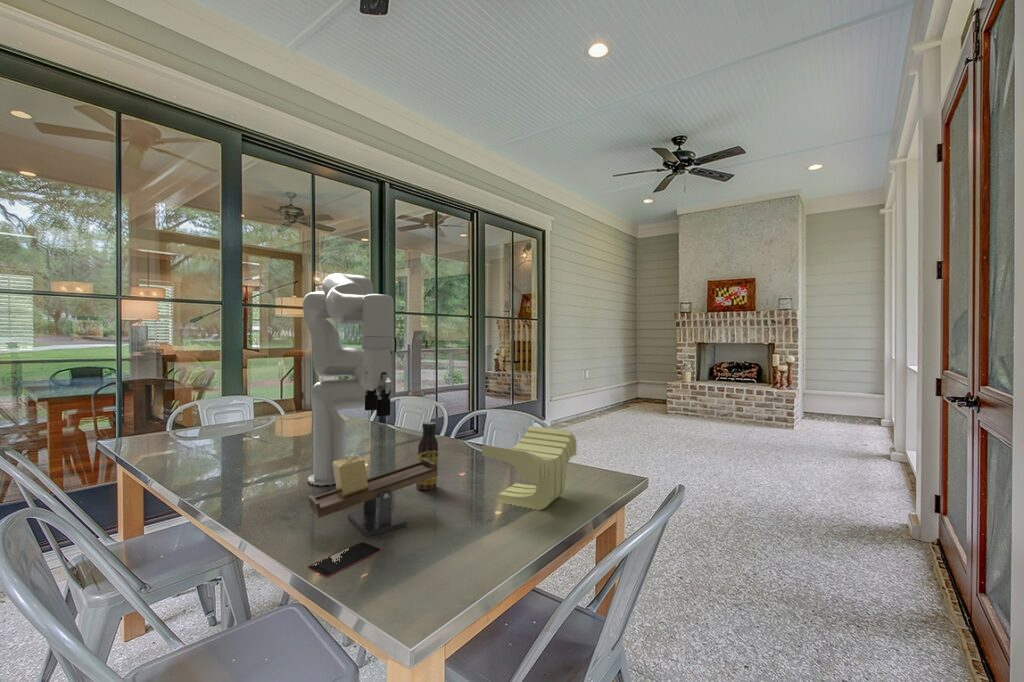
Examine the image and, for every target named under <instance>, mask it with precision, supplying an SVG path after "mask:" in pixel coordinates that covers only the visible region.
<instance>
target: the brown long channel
mask: <svg viewBox="0 0 1024 682" xmlns="http://www.w3.org/2000/svg"><path fill="white" fill-rule="evenodd" d="M438 472H439V471H438V467H436V465H435V463H433V462H431V461H429V460H427V459H425V458H423V459H422V461H420V462H414V463H411V464H409V465H406V466H403V467H399V468H397V469H393V470H390V471H387V472H385V473H382V474H378V475H376V476H373V477H369V478H367V482H368V489H369V490H367V491H365V492H362V493H359V494H356V495H353V496H350V497H347V498H344V499H342V498H341V497H340V496H339V495H338V494H337V490H336V489H333V490H330V491H327V492H324V493H320V494H318V495H315V496H314V495H313V494H311V495H308V498H307V500H308V505H309V508H310V510H311V511H312V512H313V513H314V514H315V516H316V517H317V518H318V519H321V518H323V517H327V516H329V515H332V514H334V513H338V512H340V511H343V510H346V509H348V508H351V507H354V506H357V505H359V504H363V502H365V501H368V500H371V499H374V498H376V499H377V498H378V493H379V492H384V491H389V490H390V491H392V493H393V492H395V491H399V490H401V489H404V488H407V487H409V486H412V485H414V484H417V483H418V482H421V481H424V480H426V479H429V478H432V477H435V476H437V477H438V476H439V473H438Z"/></svg>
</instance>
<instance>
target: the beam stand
mask: <svg viewBox="0 0 1024 682" xmlns="http://www.w3.org/2000/svg"><path fill="white" fill-rule="evenodd" d="M392 494H393V492H392V491H390V490H389V491H384V492H379V493H378V497H376V498H374V499H371V500H368V501H365V502H363V503H362V510H358V511H354V512H350V513H347V519H348V520H349V521H350V522H351V523H352V524H353V525H354V526H355V527H356V526H357V527H356V528H357V529H358V531H360V533H362V534H363V536H364V537H366V538H367V536H368V537H370V536H371V535H372V536H376V535H378V533H379V534H383V533H387V532H391V531H394V529H395V530H398V528H399V529H402V528H405V527H408V526H407V525H408V524H407V523H408V522H407V520H405V519H404V518H403V517H401V516H400V515H399V514H398V513H396V512H395V511H394V510H392V504H393V503H392V500H393V499H392ZM390 530H391V531H390ZM386 531H387V532H386ZM375 534H376V535H375ZM372 536H371V537H372Z"/></svg>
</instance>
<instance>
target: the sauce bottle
mask: <svg viewBox="0 0 1024 682" xmlns="http://www.w3.org/2000/svg"><path fill="white" fill-rule="evenodd" d="M421 427H422V435H421V436H422V437H421V440H420V442H419V443H418V447H417V449H418V450H417V457H416V458H417V459H416V461H417V462H420V461H422V459H423V458H425V459H427V460H429V461H431V462H433V463H435V465H436V467H437V468H438V465H439V463H438V460H439V443H438V441H437V439H436V428H437V423H436V422H433V421H424V422H422V426H421ZM417 462H416V463H417ZM437 483H438V476H435V477H432V478H429V479H426V480H424V481H421V482H418V483H415V484H416V489H418V490H420V491H421V490H422V491H430V490H434V489H435V488H436V486H437Z"/></svg>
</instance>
